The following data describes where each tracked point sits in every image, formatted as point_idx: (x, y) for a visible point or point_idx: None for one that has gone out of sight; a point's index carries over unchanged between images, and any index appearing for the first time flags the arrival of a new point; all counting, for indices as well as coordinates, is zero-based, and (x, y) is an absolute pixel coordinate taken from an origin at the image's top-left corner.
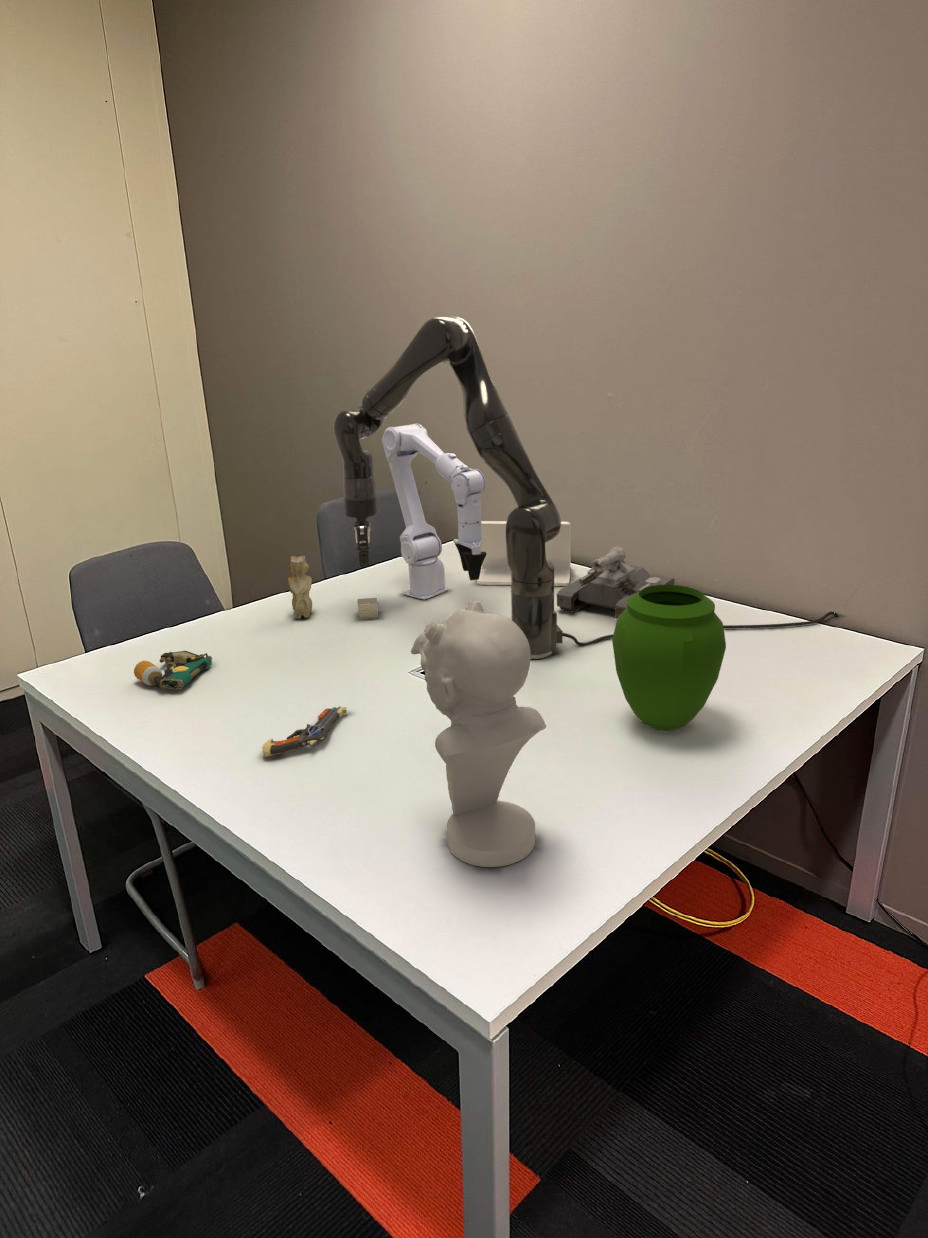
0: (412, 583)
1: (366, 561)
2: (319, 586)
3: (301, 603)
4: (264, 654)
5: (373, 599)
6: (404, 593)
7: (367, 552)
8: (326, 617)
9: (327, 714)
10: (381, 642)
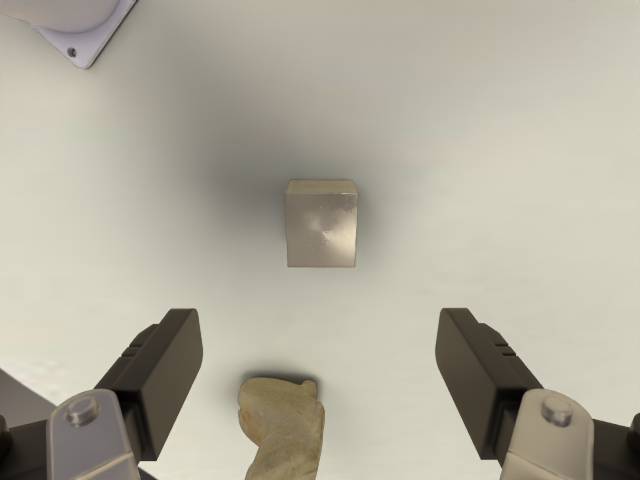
0: (71, 4)
1: (503, 345)
2: (9, 362)
3: (322, 434)
4: None
5: (306, 206)
6: (88, 61)
7: (518, 386)
8: (305, 334)
9: None
10: (579, 173)
